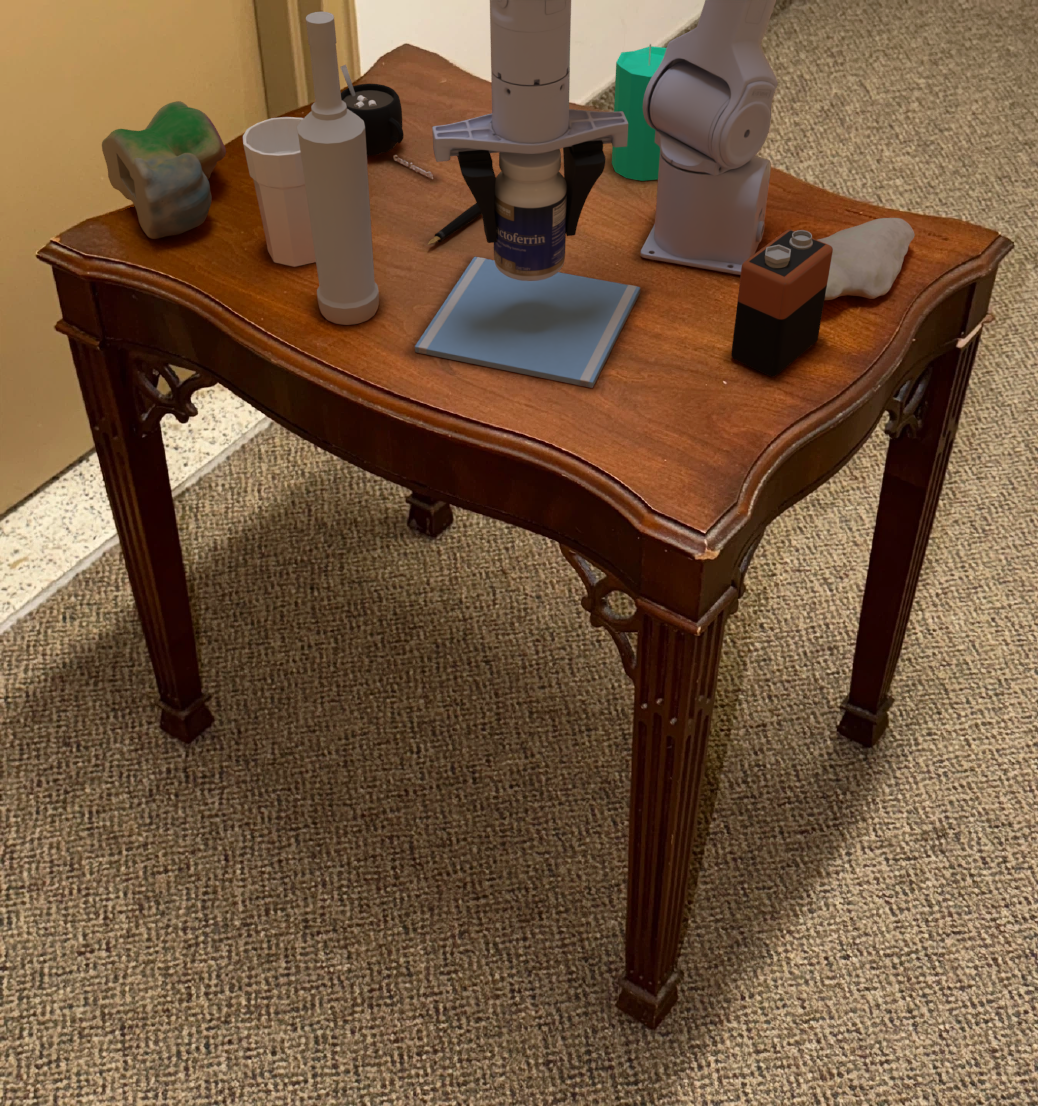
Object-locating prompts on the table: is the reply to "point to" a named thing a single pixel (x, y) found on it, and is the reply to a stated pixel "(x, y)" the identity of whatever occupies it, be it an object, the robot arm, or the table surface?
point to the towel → (530, 323)
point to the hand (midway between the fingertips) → (530, 232)
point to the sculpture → (166, 168)
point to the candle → (636, 114)
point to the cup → (280, 189)
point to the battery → (781, 301)
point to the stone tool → (867, 257)
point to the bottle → (337, 187)
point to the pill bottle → (530, 215)
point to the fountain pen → (457, 223)
